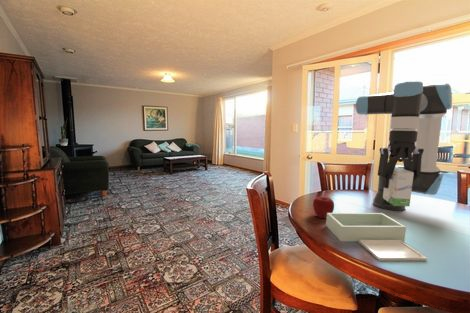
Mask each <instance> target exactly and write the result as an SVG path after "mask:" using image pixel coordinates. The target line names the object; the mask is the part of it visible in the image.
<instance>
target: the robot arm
mask: <svg viewBox="0 0 470 313" xmlns="http://www.w3.org/2000/svg"><path fill="white" fill-rule="evenodd" d="M452 107H453V96H452V87H451V85H450V84H449V83H444V82H443V83H429V84H424V83H423V82H422V81H420V80H411V81H410V80H408V81H402V82H401V81H400V82H398V83H396V84H395V86H394V89H392V90H389V91H388V92H386V93H385V92H384V93H379V94H378V93H377V94H371V95H367V94H366V95H360V96H359V97H358V98H357V99H356V102H355V111H356V114H358V115H365V116H367V115H381V114H382V115H391V116H390V131H389V135H388V136H389V137H388V142H389V143H388V146H387V147H380V148H379V154H380V155H379V162H378V167H377V168H378V169H377V176H378V184H377V191H376V193H375V196H374V197H373V200H372V204H373V205H374V206H375V207H378V208H380V209H385V210H387V211H388V210H389V211H390V210H391V211H405V210H406V206H394V205H392V204H391V203H389V202H388V201H386V200H385V199H384V198H383V196H385V197H387V198H391V192H392V182H393V180H392V179H390V178H391V176H392V173H393V171H394V168H403V169H406V170H408V171H411V172H414V175H413V183H412V191H411V193H416V194H417V193H418V194H422V195H429V196H434V195H437V194H438V192H439V189H440V187H441V184H442V180H443V177H444V173H443V172H441V169H440V167H439V166H437V161H438V154H439V143H440V136H441V135H440V134H441V126H442V117H443V116H445V115H446V114H447V112H448V111H447V110H451V109H452ZM400 159H401V160H402V163H403V164H402V165H399V164H397V163H398V161H400ZM383 191H384V195H383Z"/></svg>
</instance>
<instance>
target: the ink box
mask: <svg viewBox="0 0 470 313" xmlns="http://www.w3.org/2000/svg"><path fill="white" fill-rule="evenodd" d="M413 175H414V172H411V171H408V170H406V169H403V168H394V171H393V173H392V176H391V178H390V179H392V180H393V182H392V192H391V198H387V197H385V196H383V198H384V199H385V200H386V201H388V202H389V203H391V204H392V205H394V206H405V207H411V206H410V204H411V198H412V192H411V191H412V183H413ZM383 195H384V191H383Z"/></svg>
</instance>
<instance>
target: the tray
mask: <svg viewBox="0 0 470 313" xmlns="http://www.w3.org/2000/svg"><path fill="white" fill-rule="evenodd" d="M358 243H359V244H360V245H361V246H362V247H363V248H364V249H365V250H367V252H368V253H370V254H371V255H372V256H373V258H374V259H376V260H377V261H378V262H427V258H428V257H426V256H425V255H424V254H422V253H421V252H419V251H418V250H416V249H414V248H413V247H411V246H410V245H408V244H407V243H406V242H405V241H401V240H359V241H358Z"/></svg>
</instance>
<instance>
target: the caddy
mask: <svg viewBox="0 0 470 313" xmlns="http://www.w3.org/2000/svg"><path fill="white" fill-rule="evenodd" d="M325 226H326V227H327V228H328V229H329V230H330V232H332V234H333V235H334V236H335V237H336V238H337V239H338V240H339V241H340V242H359V240H401V241H403V242H405V241H406V233H407V232H406V231H407V226H406V225H404V224H402V223H400V222H399V221H398V220H395V219H393V218H392V217H390V216H388V215H386V214H385V213H383V212H332V213H327V218H326V222H325Z"/></svg>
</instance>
